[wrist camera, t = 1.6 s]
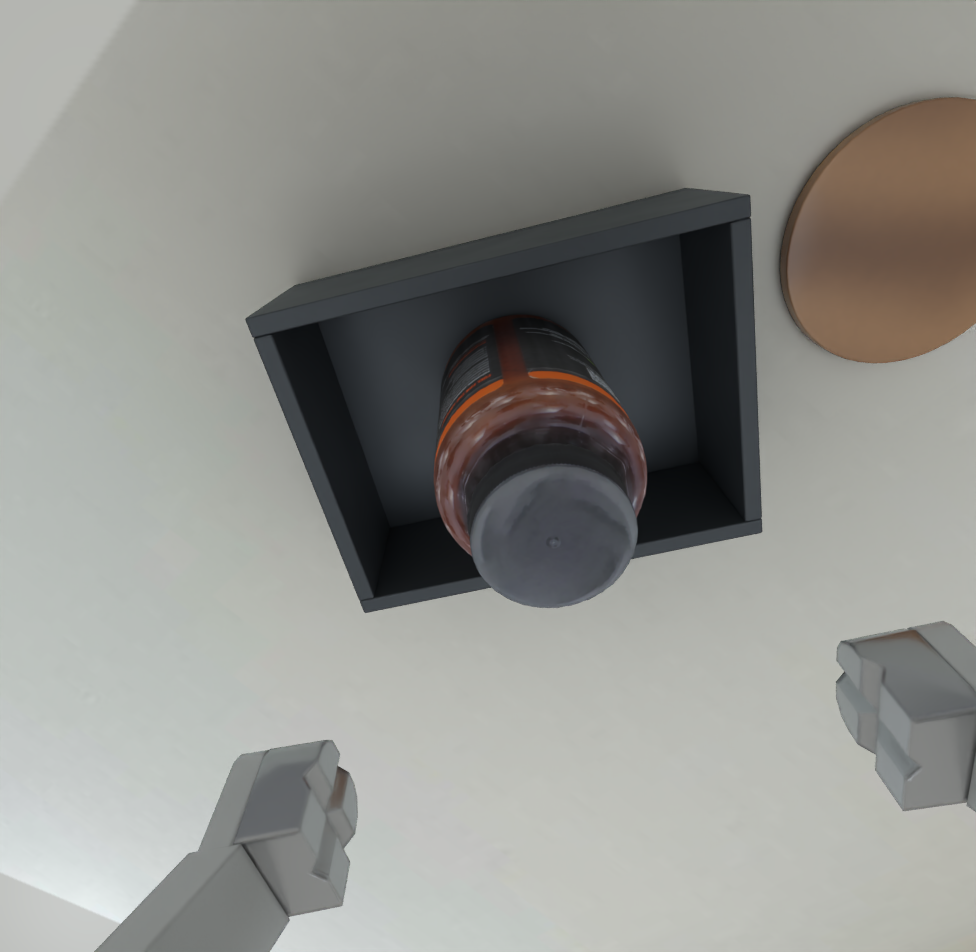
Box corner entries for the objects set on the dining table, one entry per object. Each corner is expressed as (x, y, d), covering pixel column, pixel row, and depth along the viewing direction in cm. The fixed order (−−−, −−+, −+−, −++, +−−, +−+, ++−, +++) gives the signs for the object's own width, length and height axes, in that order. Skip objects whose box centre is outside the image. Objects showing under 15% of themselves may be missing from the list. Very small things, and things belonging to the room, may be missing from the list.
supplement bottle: (430, 441, 25) (404, 623, 15) (457, 295, 23) (446, 399, 13) (570, 466, 26) (634, 657, 16) (612, 327, 24) (719, 450, 13)
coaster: (776, 136, 21) (784, 136, 21) (1050, 67, 21) (1066, 64, 20) (781, 381, 25) (787, 386, 25) (1010, 330, 25) (1023, 334, 24)
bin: (293, 285, 23) (244, 318, 18) (687, 187, 22) (751, 193, 17) (383, 534, 28) (364, 614, 23) (708, 464, 27) (763, 533, 22)
